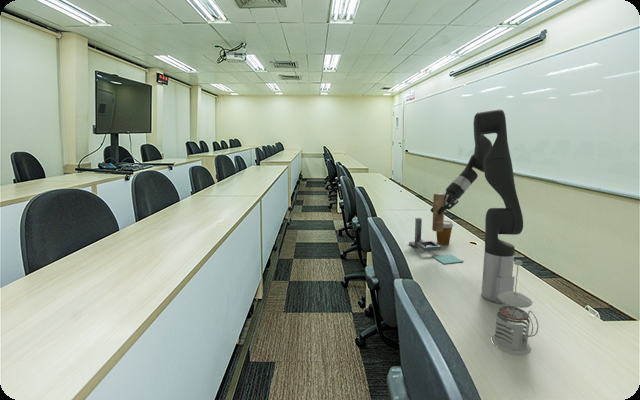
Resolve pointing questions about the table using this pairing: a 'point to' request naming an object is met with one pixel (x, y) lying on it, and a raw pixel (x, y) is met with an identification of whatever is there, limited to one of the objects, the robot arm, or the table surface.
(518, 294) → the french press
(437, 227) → the walnut rod
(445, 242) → the disposable coffee cup
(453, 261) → the felt coaster
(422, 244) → the ring stand
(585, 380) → the table surface
